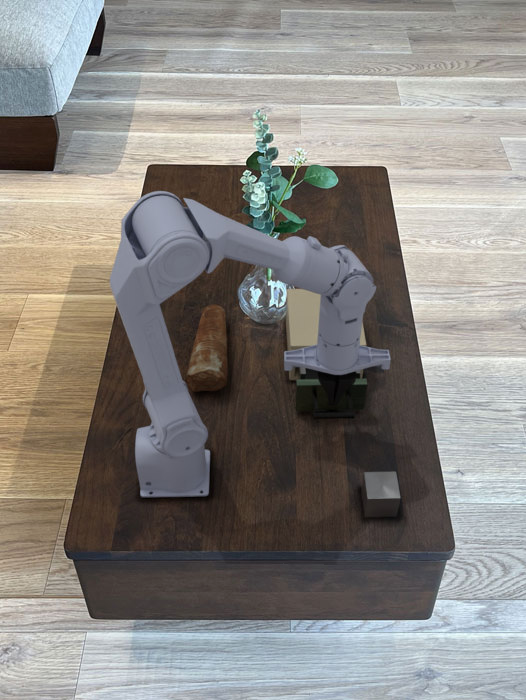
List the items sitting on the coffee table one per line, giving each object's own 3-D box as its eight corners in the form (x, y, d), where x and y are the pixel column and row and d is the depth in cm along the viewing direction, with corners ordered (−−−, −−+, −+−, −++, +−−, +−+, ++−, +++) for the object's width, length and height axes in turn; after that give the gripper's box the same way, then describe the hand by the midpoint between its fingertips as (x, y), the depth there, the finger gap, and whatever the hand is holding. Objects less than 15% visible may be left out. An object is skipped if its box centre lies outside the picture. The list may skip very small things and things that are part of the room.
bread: (186, 398, 124) (183, 373, 120) (200, 316, 138) (198, 291, 134) (226, 399, 124) (225, 374, 120) (236, 318, 137) (235, 293, 133)
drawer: (367, 435, 118) (371, 409, 113) (297, 436, 117) (298, 410, 113) (355, 352, 130) (358, 326, 126) (291, 353, 130) (292, 327, 126)
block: (364, 517, 108) (367, 498, 105) (361, 491, 111) (363, 471, 108) (396, 517, 108) (400, 498, 105) (392, 490, 112) (396, 471, 108)
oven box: (362, 379, 127) (366, 344, 122) (289, 380, 127) (290, 346, 121) (353, 322, 137) (357, 287, 131) (286, 323, 136) (286, 288, 131)
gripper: (389, 311, 109) (379, 379, 119) (283, 312, 109) (282, 381, 118) (396, 346, 104) (385, 415, 114) (286, 348, 104) (283, 417, 113)
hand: (332, 400), depth 116 cm, fingers closed
